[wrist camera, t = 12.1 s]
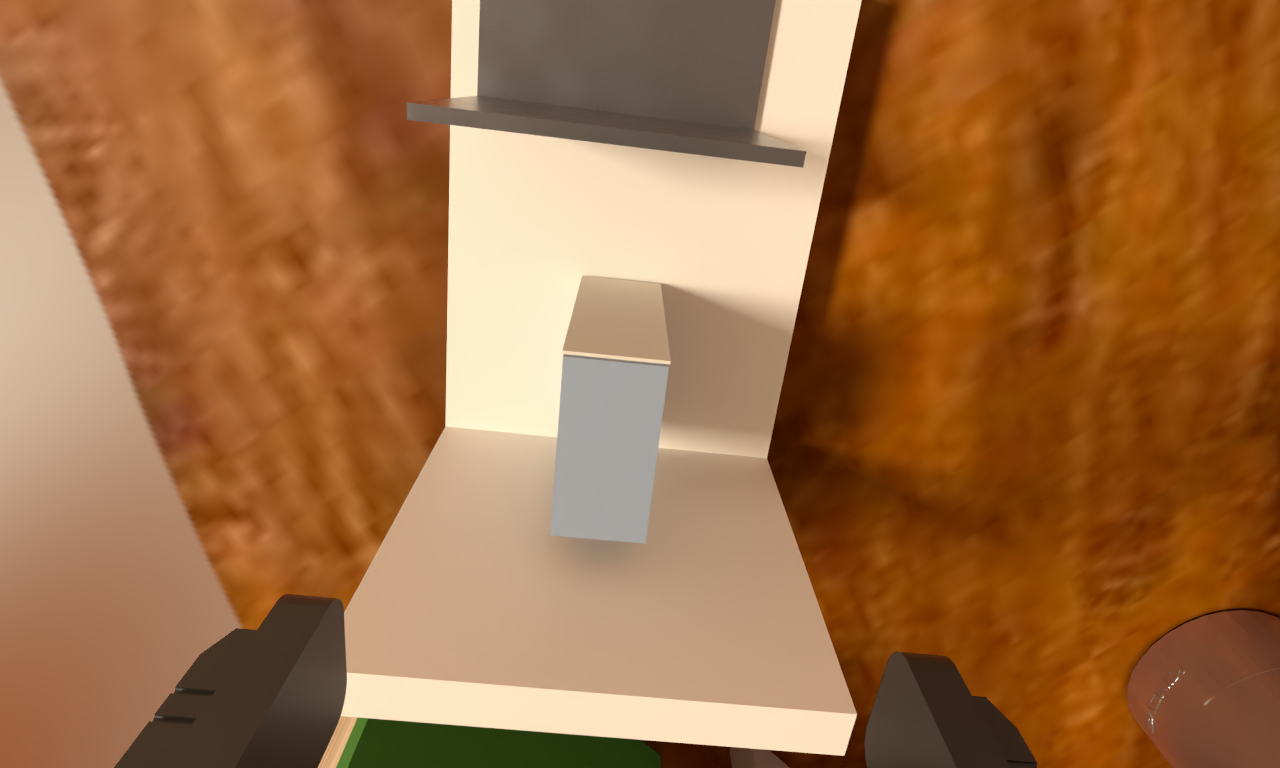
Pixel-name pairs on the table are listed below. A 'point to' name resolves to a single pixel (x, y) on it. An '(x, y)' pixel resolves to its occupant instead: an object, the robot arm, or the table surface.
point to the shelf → (687, 453)
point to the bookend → (623, 75)
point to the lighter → (754, 758)
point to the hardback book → (475, 747)
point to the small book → (610, 410)
